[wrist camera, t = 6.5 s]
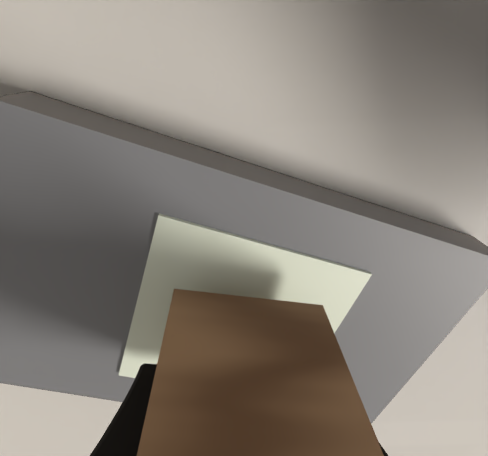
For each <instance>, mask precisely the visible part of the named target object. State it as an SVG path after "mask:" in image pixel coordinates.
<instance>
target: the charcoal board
mask: <svg viewBox="0 0 488 456" xmlns="http://www.w3.org/2000/svg"><path fill="white" fill-rule="evenodd" d="M174 289H182V290H191V291H200V292H209V293H218V294H227V295H236V296H245V297H254V298H264V299H273V300H282V301H291V302H300V303H309V304H318V305H323V307H324V309H325V312H326V314H327V317H328V319H329V322H330V324H331V327H332V329H333V331H334V334H335V336H336V339H337V341H338V344H339V346H340V349H341V351H342V354H343V356H344V359H345V361H346V364H347V366H348V368H349V371H350V373H351V376H352V378H353V381H354V383H355V386H356V388H357V391H358V393H359V396H360V398H361V400H362V403H363V405H364V408H365V410H366V413H367V415H368V418H369V420H370V423H372V422H373V421H374V420H375V419H376V418H377V416H378V415H379V414H380V413H381V412H382V411H383V409H384V408H385V407H386V406H387V405H388V404H389V402H390V401H391V400H392V399H393V398H394V397H395V396H396V394H397V393H398V392H399V391H400V390H401V389H402V387H403V386H404V385H405V384H406V383H407V382H408V380H409V379H410V378H411V377H412V376H413V375H414V373H415V372H416V371H417V370H418V369H419V368H420V366H421V365H422V364H423V363H424V362H425V361H426V359H427V358H428V357H429V356H430V355H431V354H432V353H433V351H434V350H435V349H436V348H437V347H438V346H439V344H440V343H441V342H442V341H443V340H444V339H445V337H446V336H447V335H448V334H449V333H450V332H451V330H452V329H453V328H454V327H455V326H456V325H457V323H458V322H459V321H460V320H461V319H462V318H463V316H464V315H465V314H466V313H467V312H468V311H469V309H470V308H471V307H472V306H473V305H474V304H475V303H476V301H477V300H478V299H479V298H480V297H481V296H482V294H483V293H484V292H485V291H486V290H487V289H488V247H487V246H486V245H484V244H483V243H482V242H480V241H479V240H477V239H476V238H475V237H473V236H470V235H467V234H463V233H460V232H457V231H454V230H451V229H448V228H445V227H442V226H439V225H436V224H433V223H430V222H427V221H424V220H421V219H418V218H415V217H412V216H409V215H406V214H403V213H399V212H396V211H393V210H390V209H387V208H384V207H381V206H378V205H375V204H372V203H369V202H366V201H363V200H360V199H357V198H354V197H351V196H348V195H345V194H342V193H339V192H336V191H332V190H329V189H326V188H323V187H320V186H317V185H314V184H311V183H308V182H305V181H302V180H299V179H296V178H293V177H290V176H287V175H284V174H281V173H278V172H275V171H272V170H268V169H265V168H262V167H259V166H256V165H253V164H250V163H247V162H244V161H241V160H238V159H235V158H232V157H229V156H226V155H223V154H220V153H217V152H214V151H211V150H208V149H205V148H201V147H198V146H195V145H192V144H189V143H186V142H183V141H180V140H177V139H174V138H171V137H168V136H165V135H162V134H159V133H156V132H153V131H150V130H147V129H144V128H141V127H137V126H134V125H131V124H128V123H125V122H122V121H119V120H116V119H113V118H110V117H107V116H104V115H101V114H98V113H95V112H92V111H89V110H86V109H83V108H80V107H77V106H74V105H70V104H67V103H64V102H61V101H58V100H55V99H52V98H49V97H46V96H43V95H40V94H37V93H34V92H31V91H29V92H23V93H17V94H10V95H4V96H0V383H4V384H10V385H16V386H23V387H29V388H36V389H42V390H48V391H55V392H61V393H68V394H74V395H80V396H87V397H93V398H100V399H106V400H112V401H119V402H123V401H124V399H125V397H126V395H127V394H128V392H129V390H130V388H131V386H132V384H133V382H134V380H135V377H136V375H137V373H138V371H139V368H140V366H141V365H142V364H144V363H146V364H157V363H158V358H159V354H160V349H161V345H162V340H163V336H164V331H165V327H166V322H167V318H168V313H169V309H170V304H171V300H172V295H173V291H174Z"/></svg>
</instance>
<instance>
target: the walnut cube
mask: <svg viewBox="0 0 488 456" xmlns="http://www.w3.org/2000/svg"><path fill="white" fill-rule="evenodd" d="M137 456H384V455H383V452H382V450H381V447H380V445H379V442H378V440H377V437H376V435H375V433H374V430H373V428H372V425H371V423H370V420H369V418H368V415H367V413H366V410H365V408H364V405H363V403H362V400H361V398H360V396H359V393H358V391H357V388H356V386H355V383H354V381H353V378H352V376H351V373H350V371H349V368H348V366H347V364H346V361H345V359H344V356H343V354H342V351H341V349H340V346H339V344H338V341H337V339H336V336H335V334H334V331H333V329H332V327H331V324H330V322H329V319H328V317H327V314H326V312H325V309H324V307H323V305H318V304H309V303H300V302H291V301H282V300H273V299H264V298H254V297H245V296H236V295H227V294H218V293H209V292H200V291H191V290H182V289H174V291H173V295H172V300H171V304H170V309H169V313H168V318H167V322H166V327H165V331H164V336H163V340H162V345H161V349H160V354H159V358H158V363H157V367H156V371H155V376H154V380H153V385H152V389H151V394H150V398H149V403H148V407H147V412H146V416H145V421H144V425H143V430H142V434H141V439H140V443H139V448H138V452H137Z"/></svg>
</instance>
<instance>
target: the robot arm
mask: <svg viewBox="0 0 488 456" xmlns="http://www.w3.org/2000/svg"><path fill="white" fill-rule="evenodd" d="M156 367H157V364H146V363H144V364H142V365H141V366H140V368H139V371H138V373H137V375H136V377H135V380H134V382H133V384H132V386H131V388H130V390H129V392H128V394H127V395H126V397H125V399H124V401H123V403H122V404H121V406H120V408H119V410H118V412H117V413H116V415H115V417H114V418H113V420H112V421H111V423H110V425H109V426H108V428H107V430H106V431H105V433H104V435H103V436H102V438H101V440H100V441H99V443H98V444H97V446H96V447H95V449H94V450H93V452H92V453H91V455H90V456H137V452H138V448H139V443H140V439H141V434H142V430H143V425H144V421H145V416H146V412H147V407H148V403H149V398H150V394H151V389H152V385H153V380H154V376H155V371H156ZM379 445H380V443H379ZM380 447H381V450H382V452H383V455H384V456H388V455H387V453H386V452H385V450H384V449H383V448H382V446H381V445H380Z"/></svg>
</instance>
